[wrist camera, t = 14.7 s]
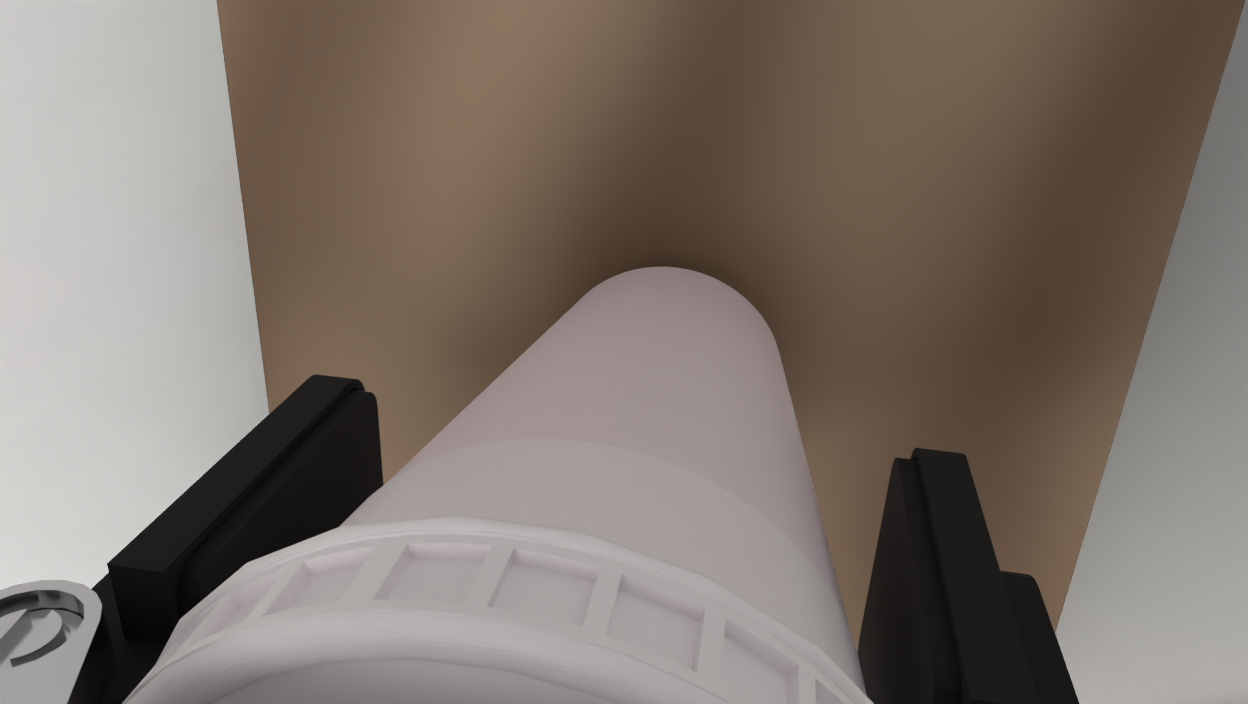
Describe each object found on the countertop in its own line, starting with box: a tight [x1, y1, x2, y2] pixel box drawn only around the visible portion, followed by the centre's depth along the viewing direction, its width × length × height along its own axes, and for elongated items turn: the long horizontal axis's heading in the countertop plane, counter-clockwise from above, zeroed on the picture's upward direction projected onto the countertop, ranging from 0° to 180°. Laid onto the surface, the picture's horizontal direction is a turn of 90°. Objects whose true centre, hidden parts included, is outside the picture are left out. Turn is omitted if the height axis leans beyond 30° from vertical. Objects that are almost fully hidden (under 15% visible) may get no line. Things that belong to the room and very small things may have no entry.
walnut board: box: [217, 0, 1245, 654], centre depth 17 cm, size 15×15×2 cm
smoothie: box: [122, 267, 874, 704], centre depth 9 cm, size 6×6×14 cm
